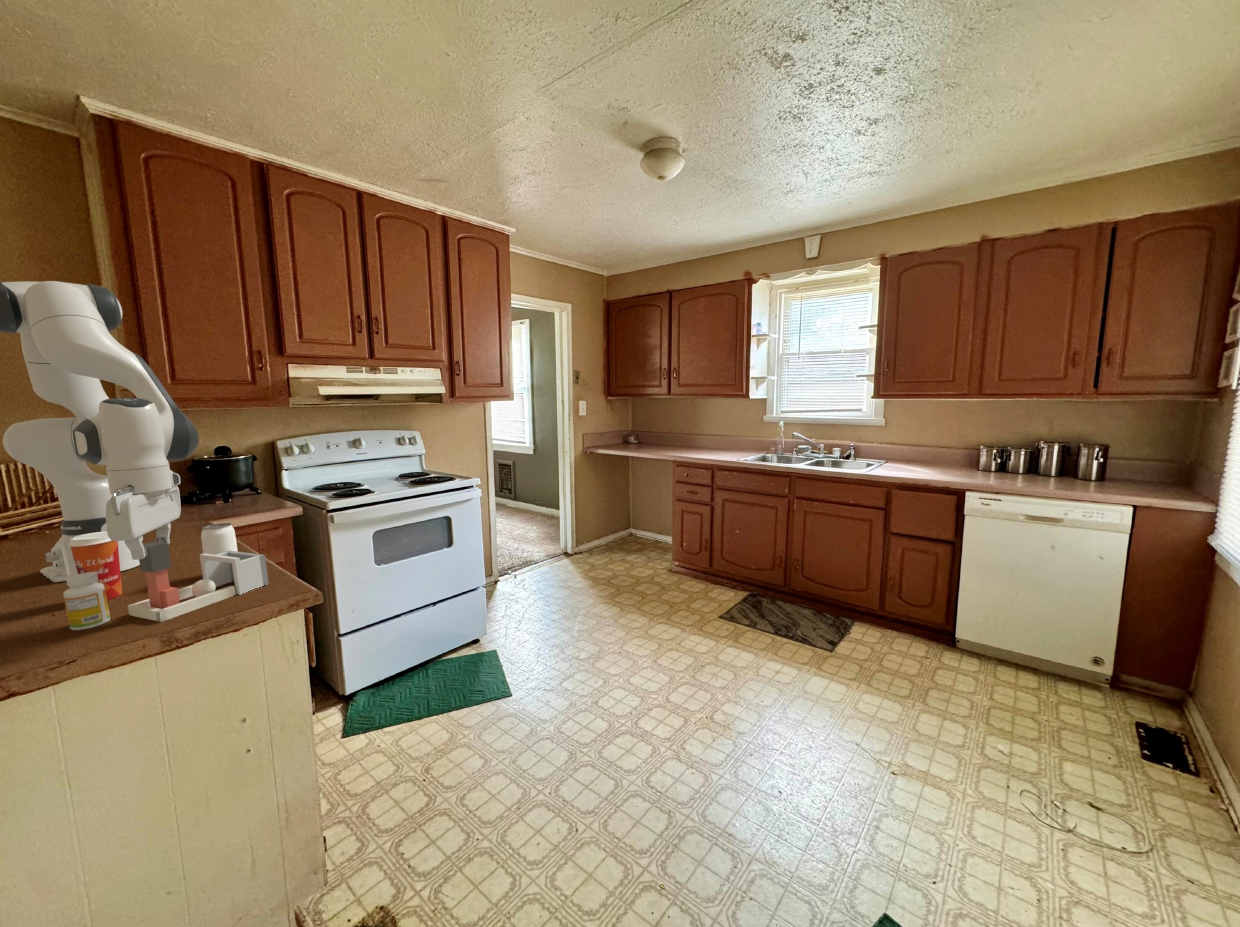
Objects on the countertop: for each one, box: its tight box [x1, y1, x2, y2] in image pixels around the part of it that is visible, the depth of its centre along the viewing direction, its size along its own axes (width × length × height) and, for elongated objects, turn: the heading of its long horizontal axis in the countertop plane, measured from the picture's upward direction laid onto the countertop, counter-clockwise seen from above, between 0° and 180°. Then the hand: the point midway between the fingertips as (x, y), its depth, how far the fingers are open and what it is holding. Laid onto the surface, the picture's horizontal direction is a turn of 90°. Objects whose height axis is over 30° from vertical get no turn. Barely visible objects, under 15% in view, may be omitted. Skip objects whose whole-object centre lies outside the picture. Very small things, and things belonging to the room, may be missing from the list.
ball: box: [192, 578, 217, 598], centre depth 107 cm, size 4×4×4 cm
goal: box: [199, 551, 270, 596], centre depth 113 cm, size 12×6×8 cm, turn 69°
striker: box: [139, 541, 181, 609], centre depth 100 cm, size 6×3×14 cm, turn 69°
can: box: [200, 522, 239, 555], centre depth 122 cm, size 6×6×12 cm
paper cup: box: [68, 531, 123, 601], centre depth 109 cm, size 8×8×14 cm
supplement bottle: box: [62, 572, 111, 631], centre depth 95 cm, size 5×5×10 cm
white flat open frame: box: [127, 584, 237, 623], centre depth 104 cm, size 10×13×2 cm
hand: (152, 551), depth 99 cm, fingers open, 8 cm apart
